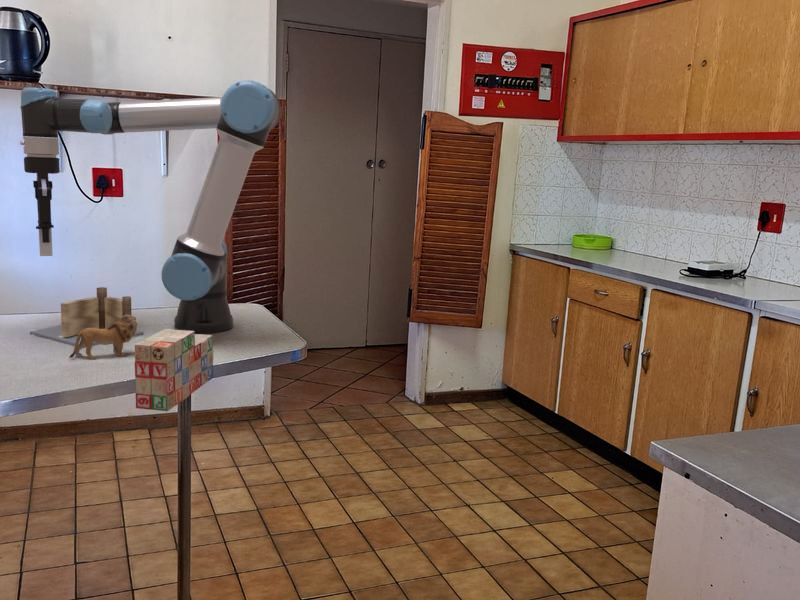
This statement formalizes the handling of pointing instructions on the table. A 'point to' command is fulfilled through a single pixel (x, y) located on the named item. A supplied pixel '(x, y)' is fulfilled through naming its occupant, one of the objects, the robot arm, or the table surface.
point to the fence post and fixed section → (111, 308)
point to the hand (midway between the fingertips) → (46, 255)
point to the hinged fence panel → (79, 316)
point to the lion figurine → (107, 336)
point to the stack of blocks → (171, 367)
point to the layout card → (56, 335)
